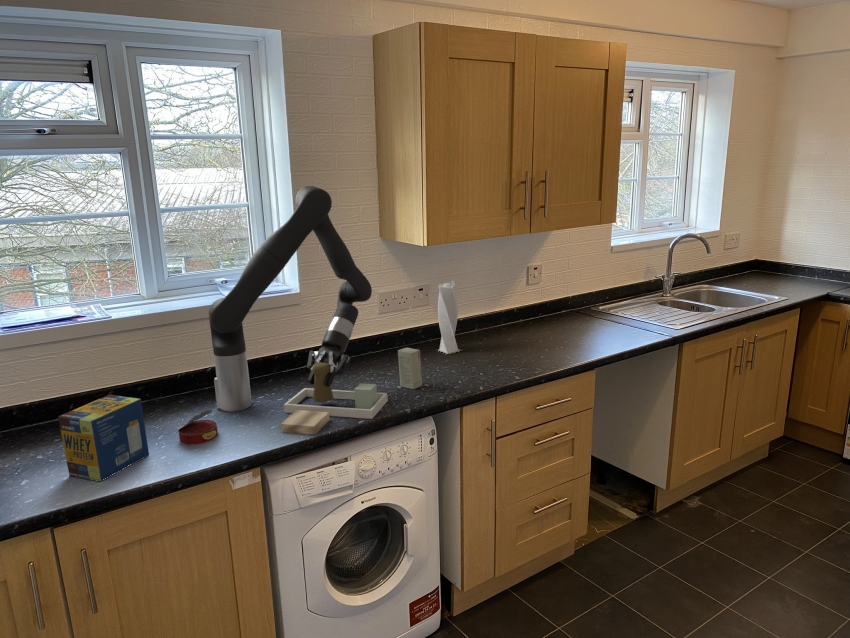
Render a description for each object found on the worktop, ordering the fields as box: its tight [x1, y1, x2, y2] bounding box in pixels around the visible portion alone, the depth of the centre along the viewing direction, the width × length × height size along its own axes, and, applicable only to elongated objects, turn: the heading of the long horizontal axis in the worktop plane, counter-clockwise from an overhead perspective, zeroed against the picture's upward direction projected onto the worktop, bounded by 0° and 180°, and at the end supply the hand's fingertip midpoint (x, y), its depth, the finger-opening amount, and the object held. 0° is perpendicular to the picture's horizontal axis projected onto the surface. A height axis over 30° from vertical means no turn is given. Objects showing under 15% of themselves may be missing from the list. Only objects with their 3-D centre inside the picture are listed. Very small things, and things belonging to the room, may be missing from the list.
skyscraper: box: [437, 279, 463, 355], centre depth 234 cm, size 8×8×28 cm
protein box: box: [57, 394, 150, 482], centre depth 152 cm, size 10×15×16 cm
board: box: [279, 410, 331, 436], centre depth 173 cm, size 10×10×2 cm
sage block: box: [353, 382, 378, 410], centre depth 183 cm, size 5×5×7 cm
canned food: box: [177, 409, 219, 446], centre depth 168 cm, size 11×10×10 cm
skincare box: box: [397, 347, 423, 390], centre depth 200 cm, size 6×4×12 cm
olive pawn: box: [312, 362, 334, 403], centre depth 186 cm, size 6×6×11 cm
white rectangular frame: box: [283, 387, 388, 420], centre depth 186 cm, size 27×14×2 cm, turn 75°
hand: (318, 384), depth 184 cm, fingers closed on olive pawn, 5 cm apart
